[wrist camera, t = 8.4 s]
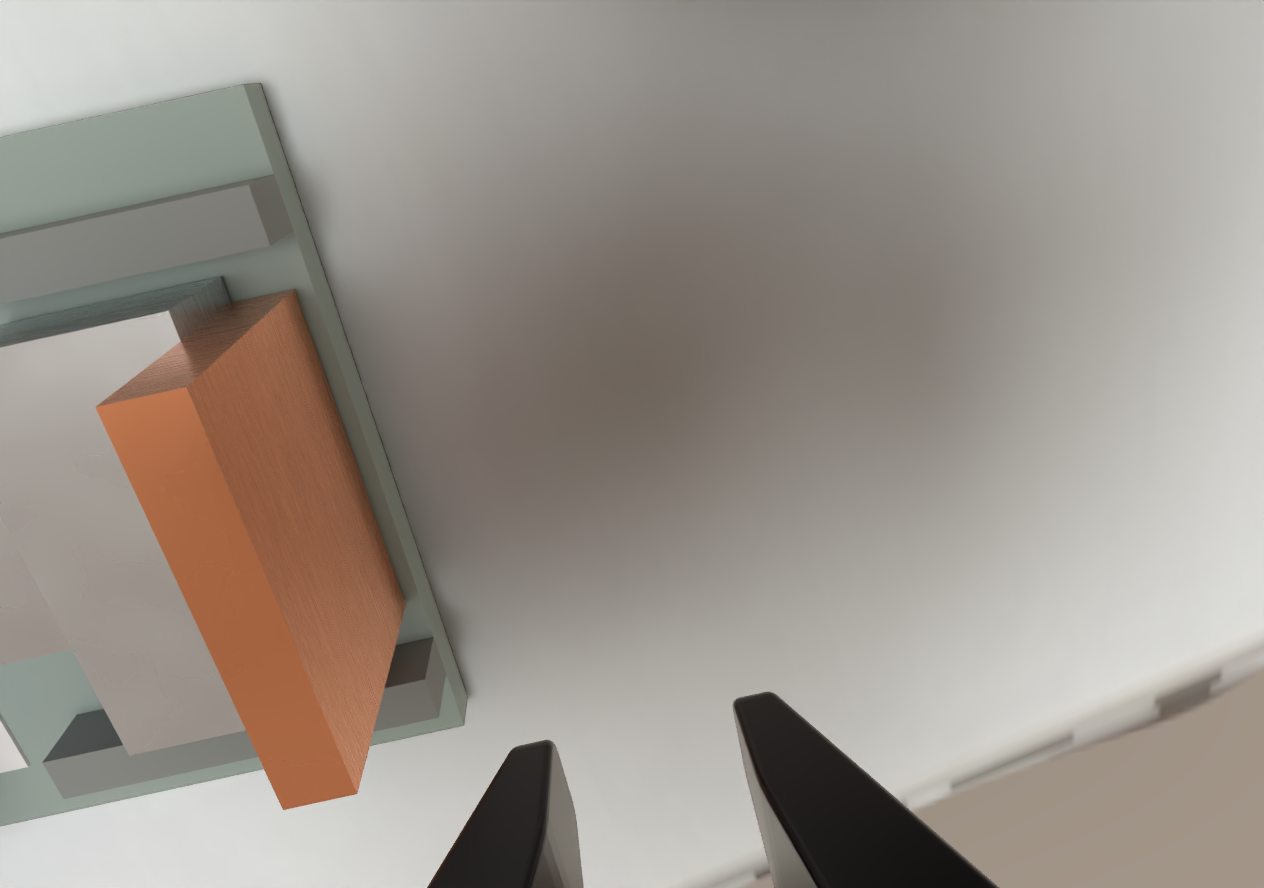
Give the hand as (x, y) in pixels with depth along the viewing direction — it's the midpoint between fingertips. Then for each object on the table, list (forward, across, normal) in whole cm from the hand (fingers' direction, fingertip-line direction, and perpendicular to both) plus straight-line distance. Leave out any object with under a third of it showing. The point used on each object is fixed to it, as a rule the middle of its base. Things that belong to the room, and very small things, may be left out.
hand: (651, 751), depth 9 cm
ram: (+10, +9, 0) cm, 13 cm away
